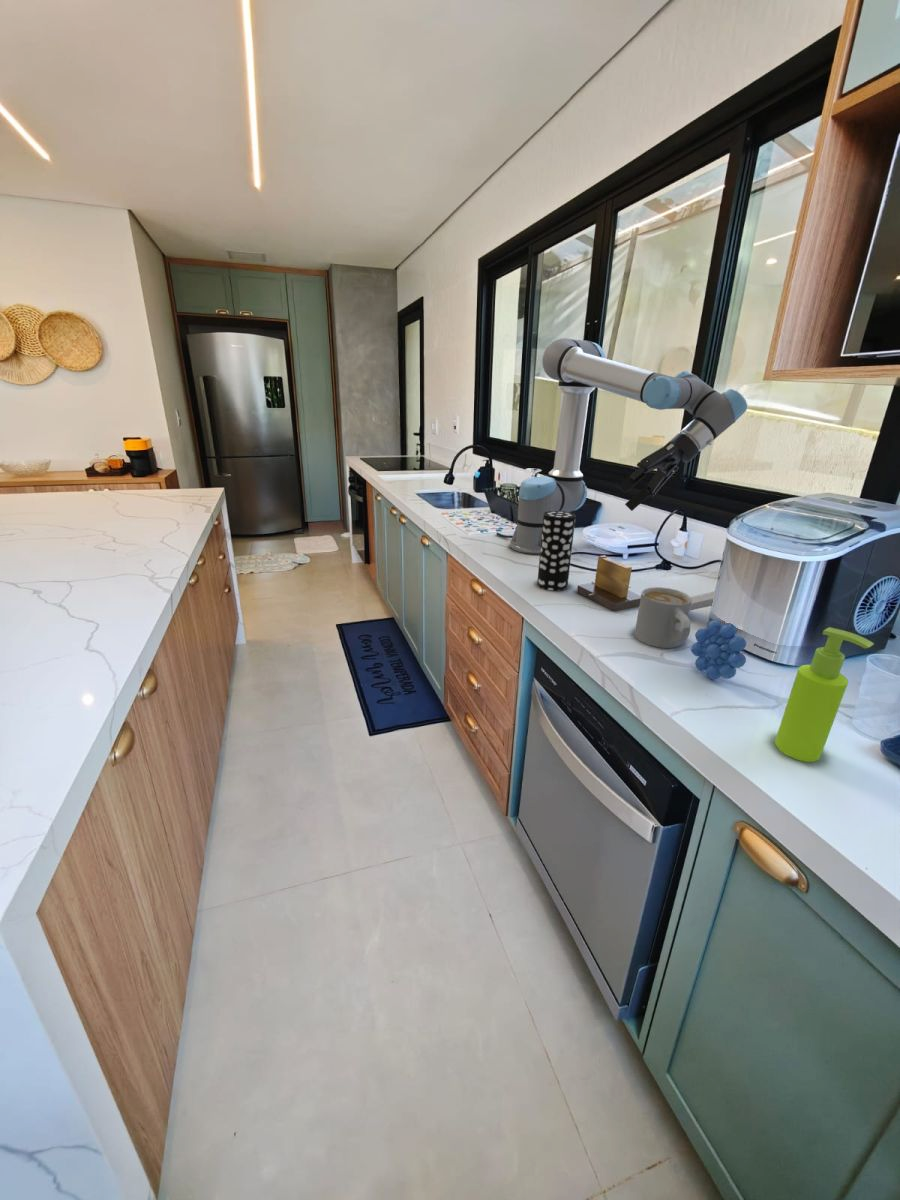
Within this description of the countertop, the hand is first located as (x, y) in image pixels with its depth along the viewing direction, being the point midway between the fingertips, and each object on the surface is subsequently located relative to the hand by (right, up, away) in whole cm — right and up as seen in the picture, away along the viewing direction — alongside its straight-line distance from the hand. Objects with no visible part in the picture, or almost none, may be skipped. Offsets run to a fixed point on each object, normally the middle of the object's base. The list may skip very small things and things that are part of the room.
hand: (625, 499), depth 137 cm
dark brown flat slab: (-6, -27, -5) cm, 28 cm away
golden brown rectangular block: (-6, -25, -6) cm, 26 cm away
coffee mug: (-2, -37, -27) cm, 46 cm away
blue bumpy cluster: (+3, -42, -41) cm, 59 cm away
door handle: (+17, -31, -13) cm, 38 cm away
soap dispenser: (+5, -51, -61) cm, 79 cm away
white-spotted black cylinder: (-19, -24, +3) cm, 31 cm away
